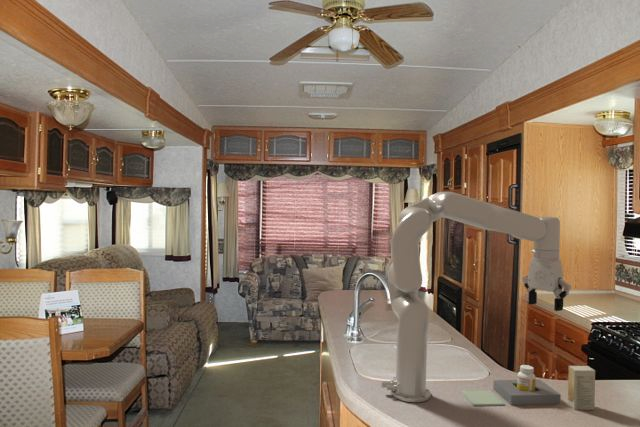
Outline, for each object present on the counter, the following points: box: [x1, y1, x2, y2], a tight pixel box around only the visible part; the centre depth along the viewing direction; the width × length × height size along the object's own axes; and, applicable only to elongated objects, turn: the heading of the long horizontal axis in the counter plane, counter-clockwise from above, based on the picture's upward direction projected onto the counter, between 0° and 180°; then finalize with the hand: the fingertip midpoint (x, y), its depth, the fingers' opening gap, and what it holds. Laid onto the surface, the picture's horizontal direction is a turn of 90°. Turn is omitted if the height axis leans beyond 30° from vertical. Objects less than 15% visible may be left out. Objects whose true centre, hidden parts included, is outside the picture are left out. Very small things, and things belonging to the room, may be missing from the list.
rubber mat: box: [460, 389, 506, 407], centre depth 151 cm, size 10×10×1 cm
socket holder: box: [492, 379, 562, 406], centre depth 153 cm, size 16×12×3 cm
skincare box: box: [567, 365, 596, 411], centre depth 146 cm, size 6×4×12 cm
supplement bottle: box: [516, 364, 536, 391], centre depth 153 cm, size 5×5×10 cm
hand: (545, 307), depth 155 cm, fingers open, 9 cm apart
